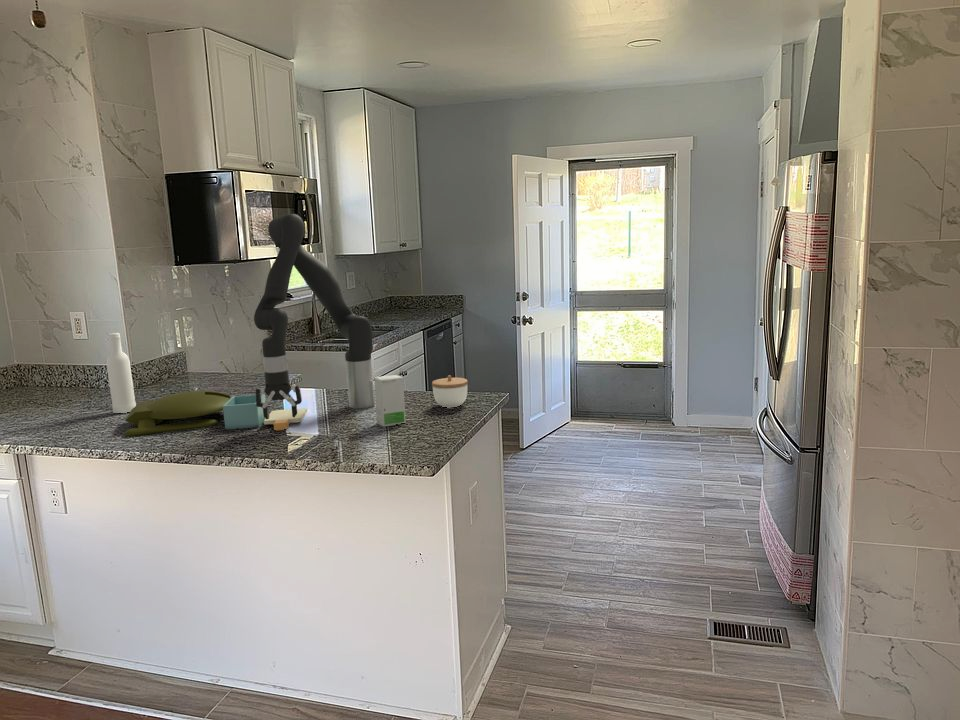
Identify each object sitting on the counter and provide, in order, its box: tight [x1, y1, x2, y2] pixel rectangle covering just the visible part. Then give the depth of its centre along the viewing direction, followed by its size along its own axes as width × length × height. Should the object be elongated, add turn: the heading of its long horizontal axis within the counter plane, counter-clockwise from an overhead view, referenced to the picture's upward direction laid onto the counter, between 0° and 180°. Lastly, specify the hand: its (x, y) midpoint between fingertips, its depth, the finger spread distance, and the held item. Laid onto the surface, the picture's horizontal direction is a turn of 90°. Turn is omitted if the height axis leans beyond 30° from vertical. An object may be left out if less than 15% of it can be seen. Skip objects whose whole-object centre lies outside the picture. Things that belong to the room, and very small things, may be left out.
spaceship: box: [124, 390, 233, 437], centre depth 252 cm, size 35×31×10 cm
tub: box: [222, 393, 267, 430], centre depth 245 cm, size 11×15×8 cm
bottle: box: [106, 332, 137, 414], centre depth 269 cm, size 8×8×30 cm
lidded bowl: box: [431, 374, 469, 409], centre depth 254 cm, size 13×13×11 cm
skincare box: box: [373, 374, 407, 427], centre depth 234 cm, size 8×7×16 cm
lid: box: [263, 407, 308, 431], centre depth 243 cm, size 12×22×2 cm, turn 7°
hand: (280, 417), depth 235 cm, fingers open, 8 cm apart
